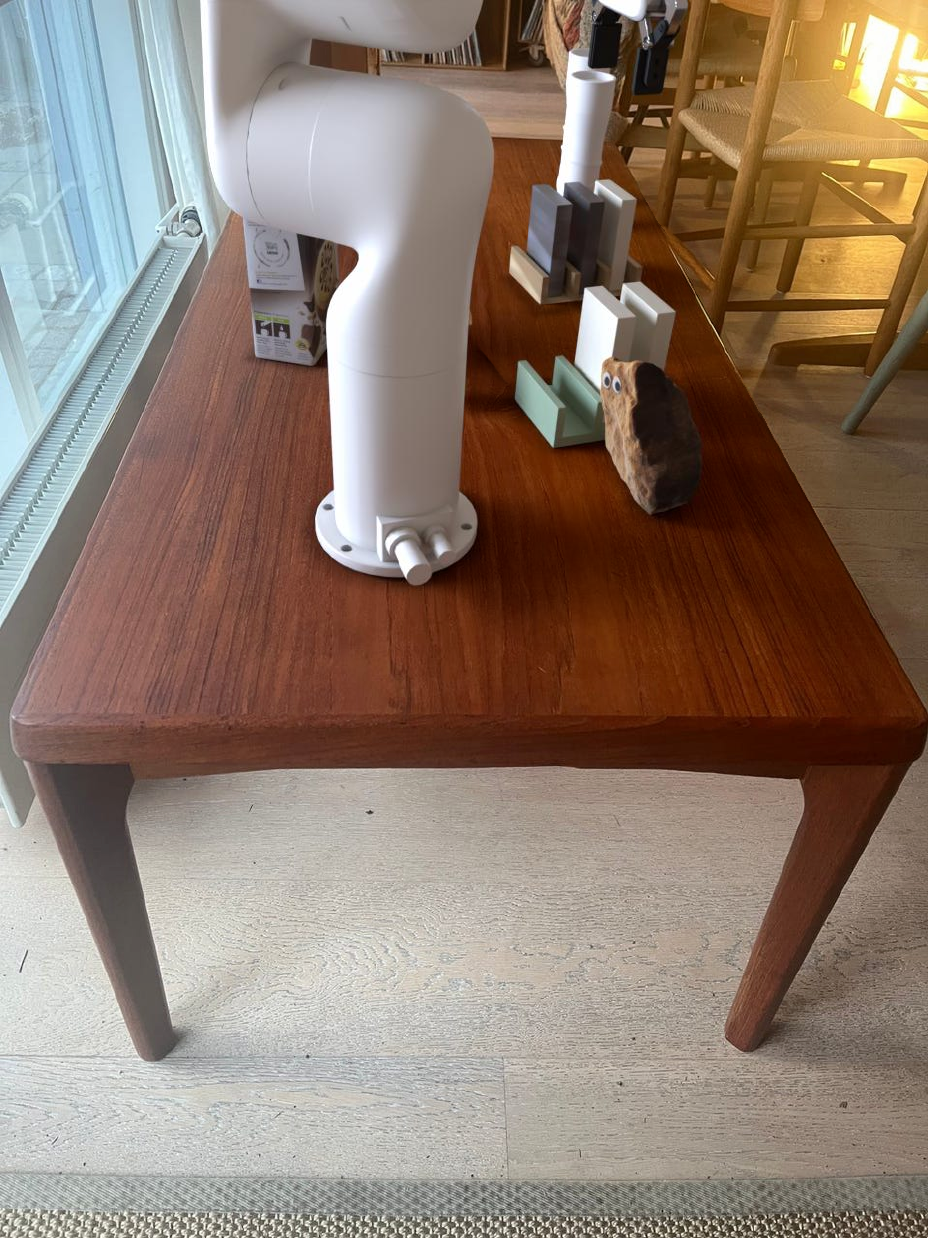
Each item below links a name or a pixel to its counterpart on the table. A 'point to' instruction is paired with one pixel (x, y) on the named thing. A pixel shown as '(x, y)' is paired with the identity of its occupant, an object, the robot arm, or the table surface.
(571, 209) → the wooden rack with slabs
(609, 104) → the binoculars
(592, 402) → the green and white rack
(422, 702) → the table surface
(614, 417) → the decorative rock
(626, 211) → the cream book
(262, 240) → the coffee box
